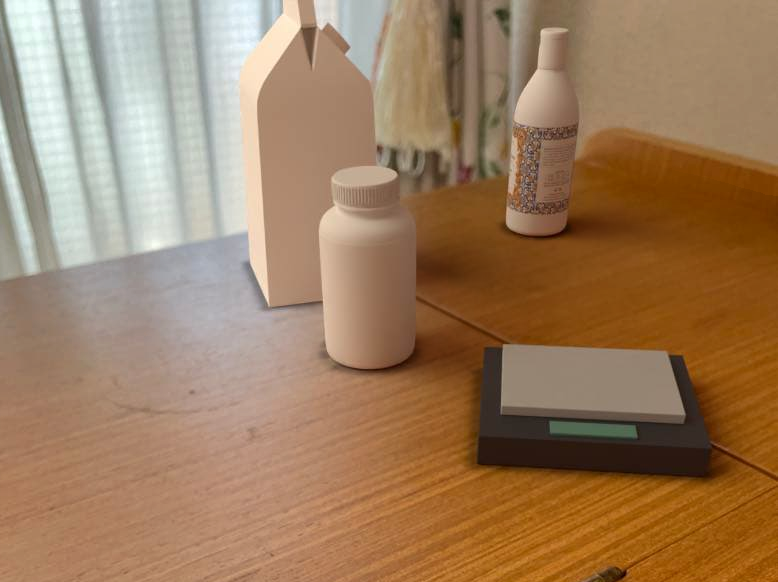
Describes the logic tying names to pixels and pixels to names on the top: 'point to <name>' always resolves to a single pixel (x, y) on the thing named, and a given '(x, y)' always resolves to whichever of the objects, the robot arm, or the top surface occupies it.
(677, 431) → the scale
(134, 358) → the top surface
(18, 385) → the top surface
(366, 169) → the pill bottle
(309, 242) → the milk
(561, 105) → the bath foam
